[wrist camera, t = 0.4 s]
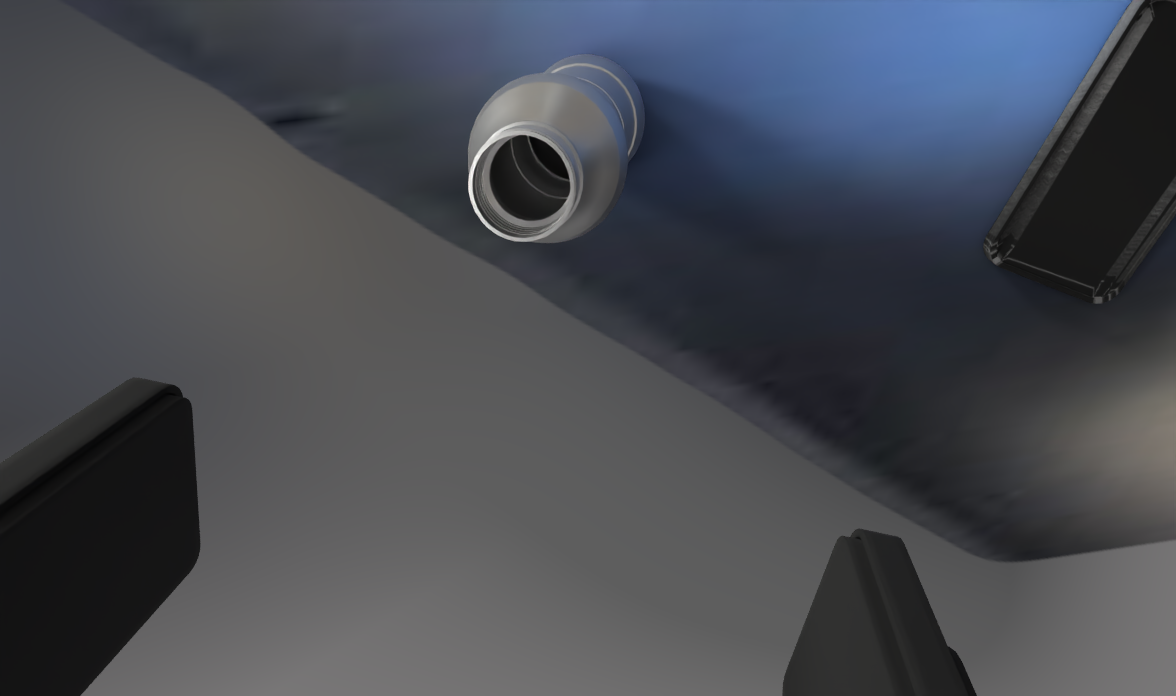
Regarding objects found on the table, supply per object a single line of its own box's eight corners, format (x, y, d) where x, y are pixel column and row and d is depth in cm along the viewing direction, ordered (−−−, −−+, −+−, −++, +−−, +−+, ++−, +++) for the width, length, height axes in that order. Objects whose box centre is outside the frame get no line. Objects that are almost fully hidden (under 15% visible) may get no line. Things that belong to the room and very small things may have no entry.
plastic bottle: (664, 75, 41) (651, 119, 23) (622, 190, 44) (581, 311, 26) (554, 34, 41) (453, 46, 23) (519, 152, 44) (404, 247, 26)
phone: (981, 260, 42) (1156, -19, 36) (974, 254, 43) (1143, -18, 37) (1109, 310, 42) (1303, 42, 36) (1098, 303, 43) (1286, 41, 37)
